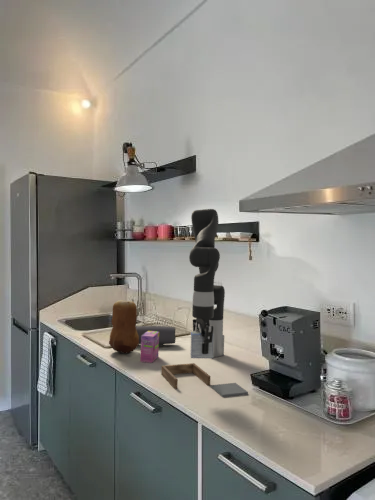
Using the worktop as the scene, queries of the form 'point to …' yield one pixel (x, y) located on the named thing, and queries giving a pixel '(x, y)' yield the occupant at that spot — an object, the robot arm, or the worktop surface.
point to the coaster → (229, 389)
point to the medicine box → (200, 346)
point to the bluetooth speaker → (164, 333)
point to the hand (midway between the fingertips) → (201, 351)
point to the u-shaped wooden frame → (169, 370)
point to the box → (149, 346)
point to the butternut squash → (124, 327)
